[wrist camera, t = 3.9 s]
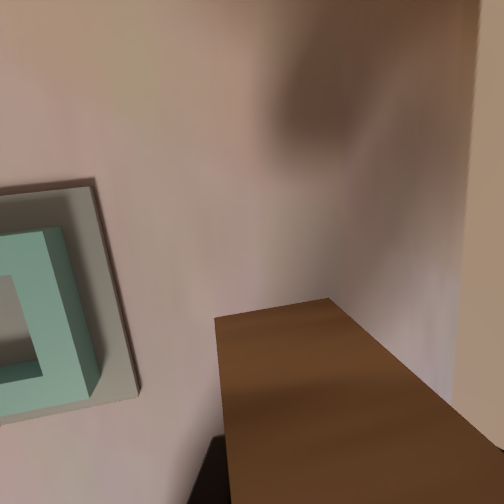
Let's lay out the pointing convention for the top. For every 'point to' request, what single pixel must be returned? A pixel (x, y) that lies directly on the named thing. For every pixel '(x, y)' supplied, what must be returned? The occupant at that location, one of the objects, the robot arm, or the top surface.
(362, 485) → the walnut peg
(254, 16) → the top surface
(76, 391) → the socket block
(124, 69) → the top surface
